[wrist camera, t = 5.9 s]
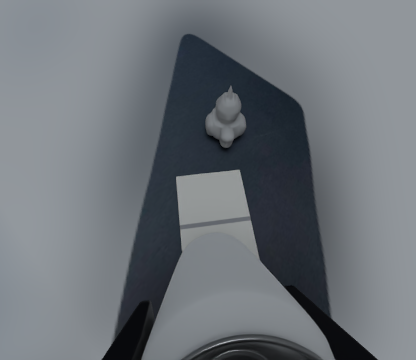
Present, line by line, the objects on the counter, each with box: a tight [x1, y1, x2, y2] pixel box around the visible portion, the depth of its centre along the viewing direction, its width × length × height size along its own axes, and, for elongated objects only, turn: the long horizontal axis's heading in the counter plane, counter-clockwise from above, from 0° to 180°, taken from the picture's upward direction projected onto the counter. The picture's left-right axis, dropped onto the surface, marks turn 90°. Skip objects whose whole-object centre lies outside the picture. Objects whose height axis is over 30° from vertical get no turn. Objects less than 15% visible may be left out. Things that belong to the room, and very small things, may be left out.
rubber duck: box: [206, 86, 246, 148], centre depth 25 cm, size 5×7×8 cm
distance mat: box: [176, 170, 260, 260], centre depth 23 cm, size 14×8×1 cm, turn 8°
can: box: [141, 233, 335, 360], centre depth 10 cm, size 6×6×12 cm
